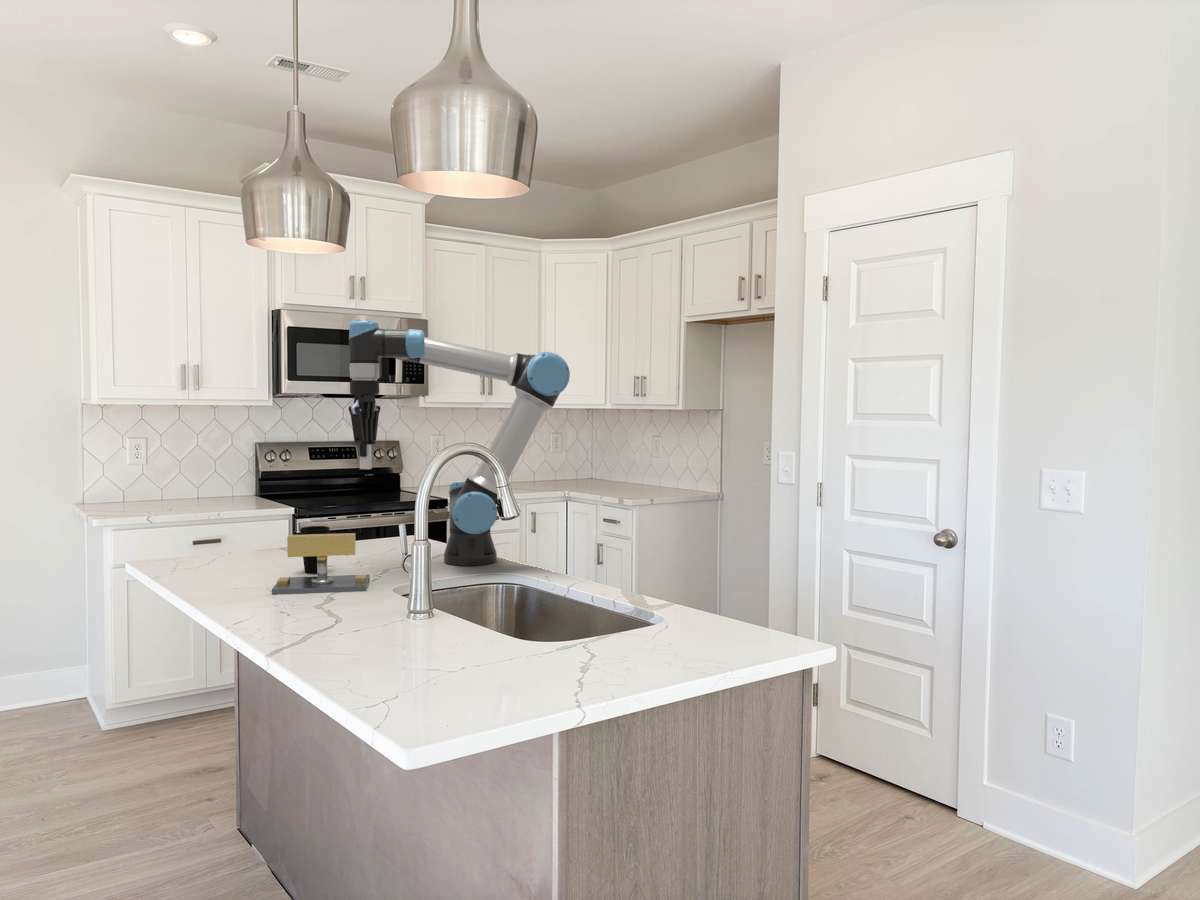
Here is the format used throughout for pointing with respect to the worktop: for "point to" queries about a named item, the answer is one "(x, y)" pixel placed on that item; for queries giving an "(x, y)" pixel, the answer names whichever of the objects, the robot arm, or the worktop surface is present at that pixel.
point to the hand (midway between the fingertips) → (365, 468)
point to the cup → (311, 561)
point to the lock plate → (321, 583)
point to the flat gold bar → (321, 545)
